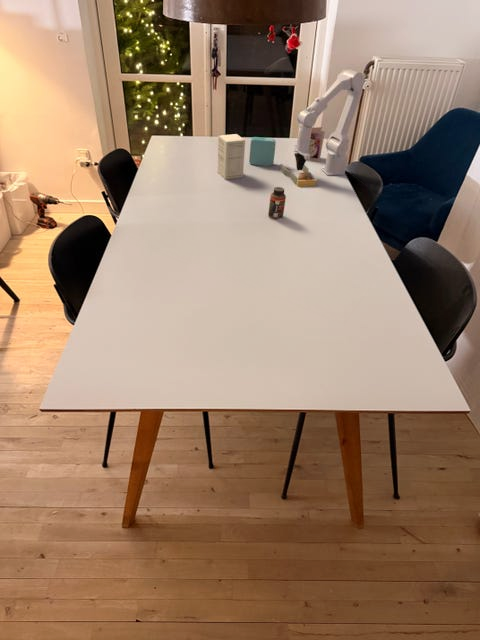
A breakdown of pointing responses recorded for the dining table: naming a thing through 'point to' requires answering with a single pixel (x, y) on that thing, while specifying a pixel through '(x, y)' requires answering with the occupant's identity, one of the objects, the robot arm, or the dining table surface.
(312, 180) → the keyhole track
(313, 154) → the greeting card
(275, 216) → the supplement bottle
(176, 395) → the dining table surface
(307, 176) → the tan rounded capsule
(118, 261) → the dining table surface
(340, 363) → the dining table surface
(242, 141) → the supplement box
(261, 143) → the data package
